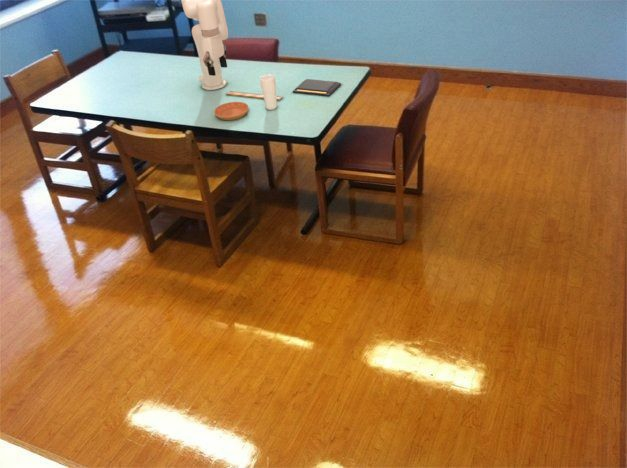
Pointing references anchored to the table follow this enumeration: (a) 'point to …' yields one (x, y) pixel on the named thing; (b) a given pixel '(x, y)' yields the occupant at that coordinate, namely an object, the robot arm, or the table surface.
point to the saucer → (231, 110)
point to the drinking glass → (269, 91)
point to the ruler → (250, 95)
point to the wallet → (317, 87)
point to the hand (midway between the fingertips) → (218, 71)
